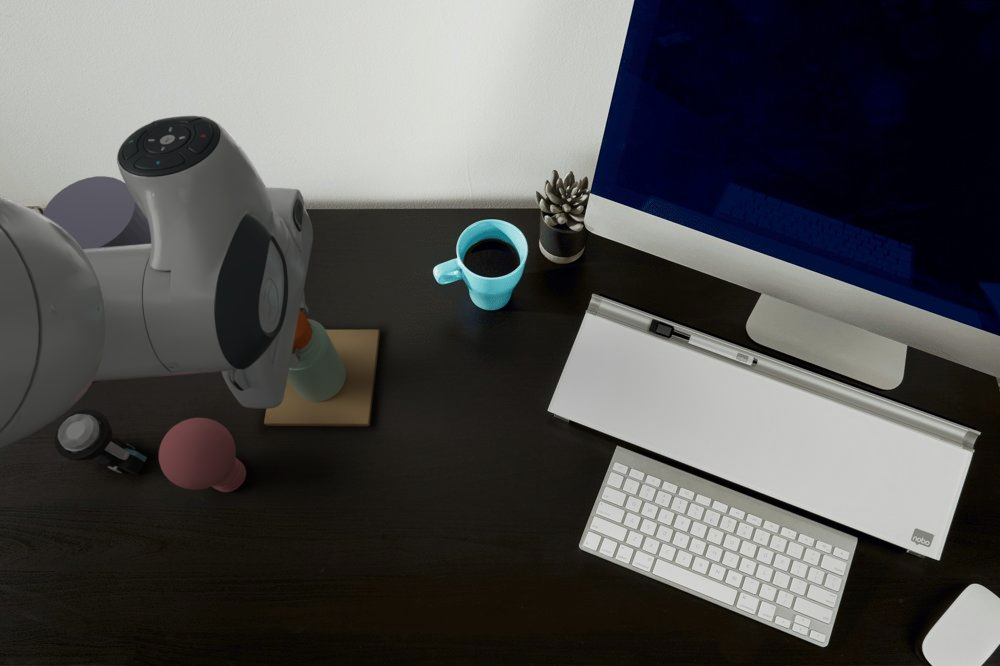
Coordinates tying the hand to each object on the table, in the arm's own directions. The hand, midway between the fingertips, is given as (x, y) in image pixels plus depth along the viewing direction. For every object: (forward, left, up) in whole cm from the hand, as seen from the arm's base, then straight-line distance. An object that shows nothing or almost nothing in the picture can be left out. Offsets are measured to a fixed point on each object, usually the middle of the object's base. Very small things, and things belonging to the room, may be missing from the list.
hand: (296, 338), depth 76 cm
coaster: (0, 0, -11) cm, 11 cm away
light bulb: (-12, +9, -11) cm, 18 cm away
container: (+13, +24, -11) cm, 29 cm away
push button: (-10, +22, -11) cm, 26 cm away
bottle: (0, 0, -10) cm, 10 cm away
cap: (0, 0, +3) cm, 3 cm away
